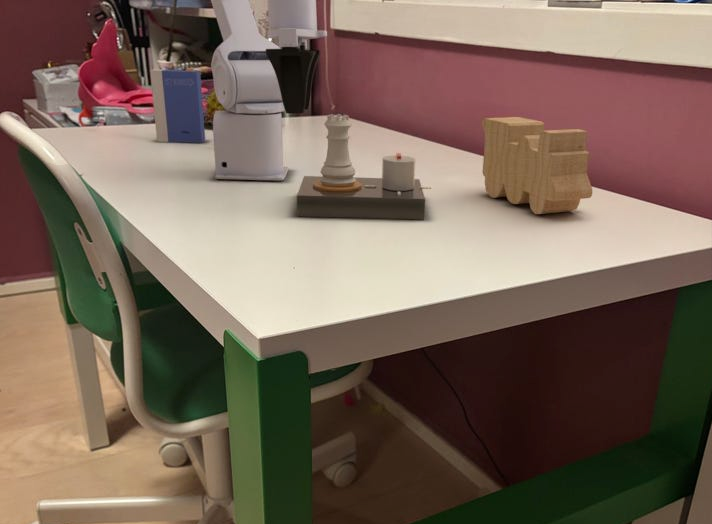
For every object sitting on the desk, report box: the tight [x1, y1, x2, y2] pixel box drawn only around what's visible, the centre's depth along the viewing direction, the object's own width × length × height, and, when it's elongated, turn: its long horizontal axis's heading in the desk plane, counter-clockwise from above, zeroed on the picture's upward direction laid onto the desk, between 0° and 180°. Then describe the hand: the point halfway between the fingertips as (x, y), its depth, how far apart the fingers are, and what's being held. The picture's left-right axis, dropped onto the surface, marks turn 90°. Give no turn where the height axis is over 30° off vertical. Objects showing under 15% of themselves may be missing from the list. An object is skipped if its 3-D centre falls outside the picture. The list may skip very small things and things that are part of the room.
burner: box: [313, 180, 362, 192], centre depth 91 cm, size 6×6×1 cm
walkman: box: [149, 67, 206, 144], centre depth 128 cm, size 8×3×12 cm, turn 91°
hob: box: [296, 175, 432, 221], centre depth 92 cm, size 16×11×3 cm
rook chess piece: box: [320, 113, 357, 187], centre depth 89 cm, size 4×4×8 cm
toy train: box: [481, 116, 593, 215], centre depth 95 cm, size 6×17×10 cm, turn 27°
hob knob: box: [381, 152, 416, 191], centre depth 91 cm, size 4×4×4 cm
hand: (297, 111), depth 92 cm, fingers open, 7 cm apart
